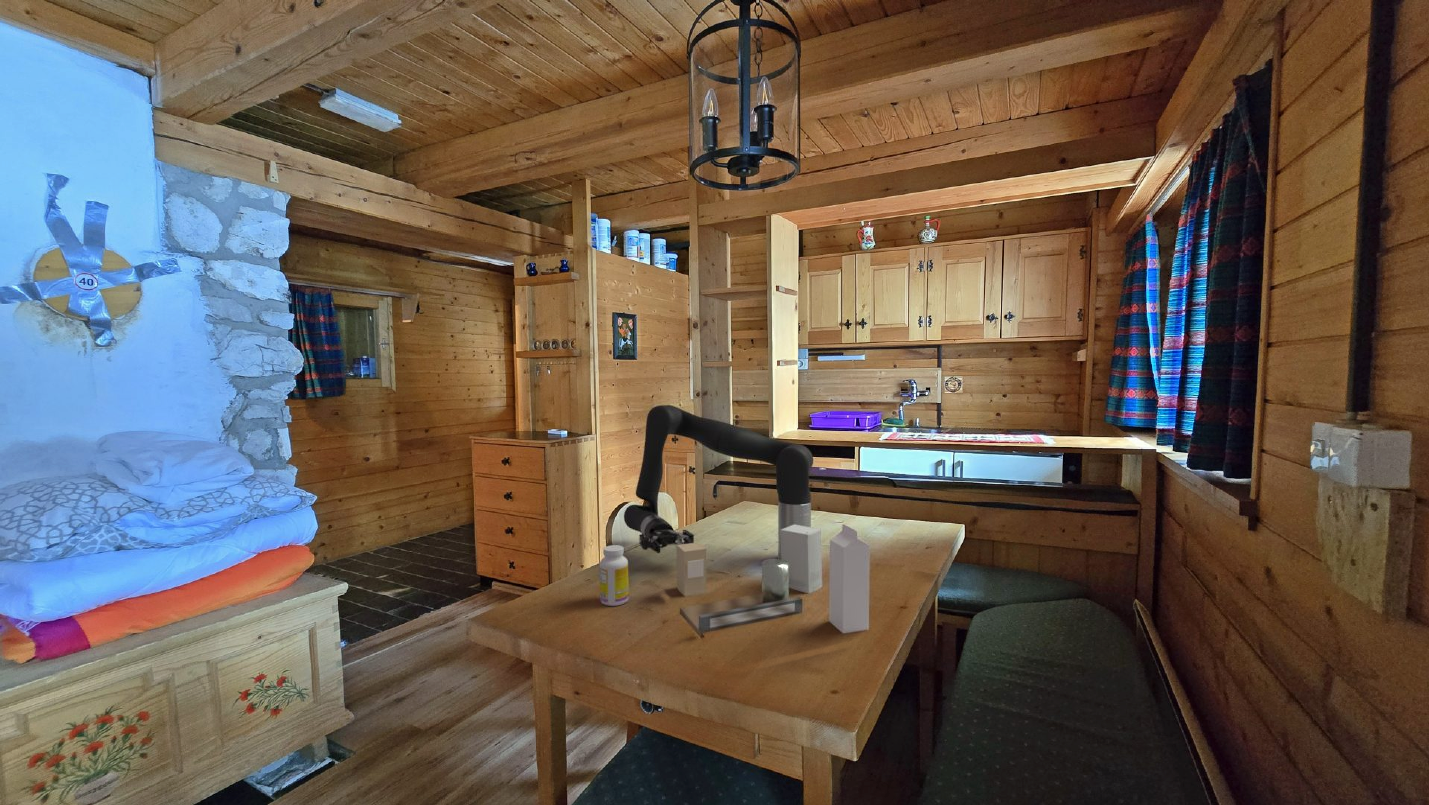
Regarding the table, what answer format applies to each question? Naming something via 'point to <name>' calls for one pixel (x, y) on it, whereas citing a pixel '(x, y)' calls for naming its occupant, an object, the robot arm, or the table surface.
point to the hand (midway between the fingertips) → (675, 547)
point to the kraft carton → (691, 569)
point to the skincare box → (802, 557)
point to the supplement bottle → (614, 576)
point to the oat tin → (775, 580)
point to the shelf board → (737, 612)
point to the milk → (849, 581)
